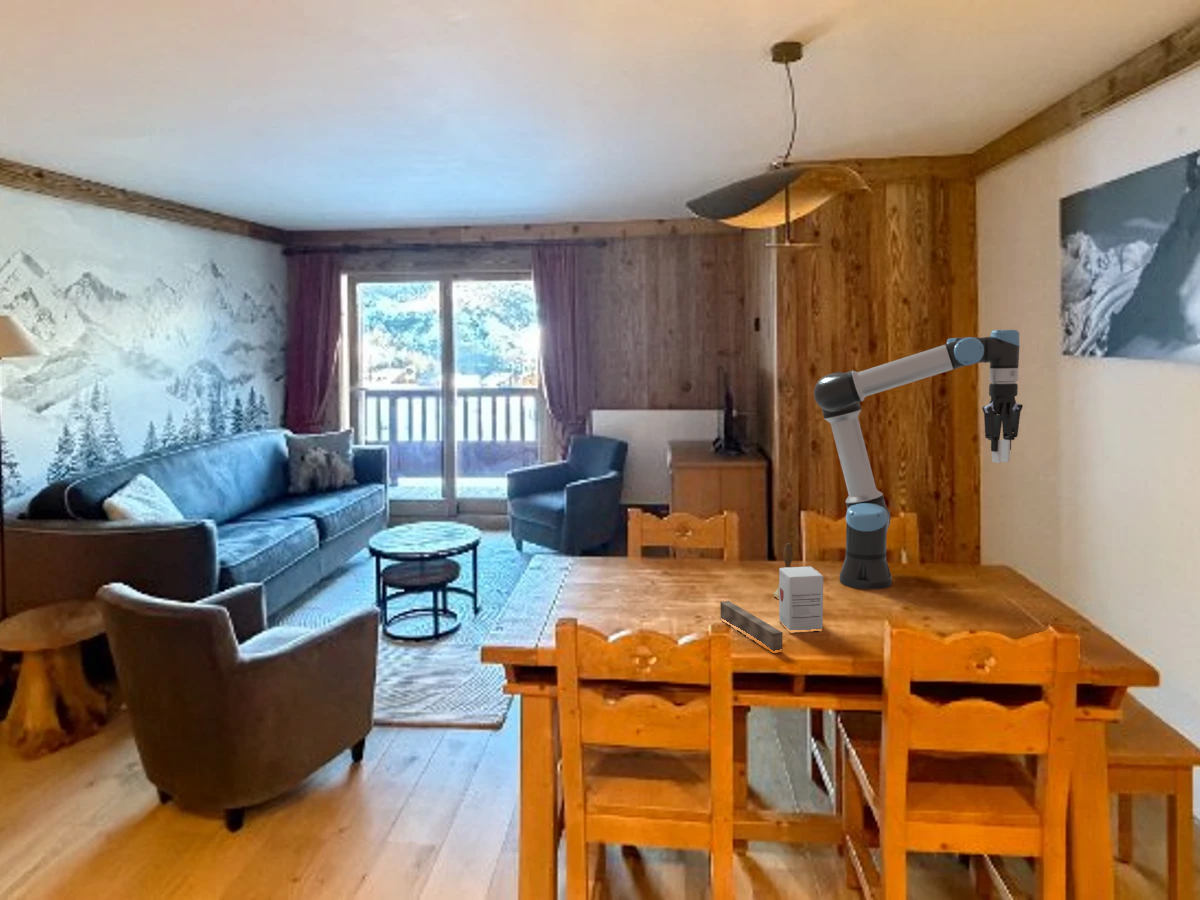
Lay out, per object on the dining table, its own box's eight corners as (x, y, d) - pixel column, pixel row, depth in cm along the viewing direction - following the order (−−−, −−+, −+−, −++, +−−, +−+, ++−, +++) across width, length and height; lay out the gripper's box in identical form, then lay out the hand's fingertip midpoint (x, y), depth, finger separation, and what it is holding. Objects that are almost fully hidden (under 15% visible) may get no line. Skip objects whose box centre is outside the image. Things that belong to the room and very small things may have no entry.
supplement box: (778, 622, 211) (778, 567, 210) (811, 620, 212) (811, 565, 210) (789, 634, 202) (789, 576, 201) (823, 632, 203) (824, 575, 201)
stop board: (720, 620, 214) (720, 602, 213) (728, 618, 215) (728, 600, 214) (773, 654, 190) (773, 633, 189) (782, 652, 191) (782, 632, 190)
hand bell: (804, 594, 234) (804, 541, 232) (798, 602, 227) (799, 547, 225) (776, 591, 238) (776, 538, 236) (769, 599, 231) (769, 545, 228)
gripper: (993, 384, 228) (990, 465, 231) (1034, 382, 234) (1031, 461, 237) (972, 383, 235) (970, 462, 238) (1013, 381, 241) (1010, 458, 244)
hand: (1000, 461), depth 237 cm, fingers open, 3 cm apart
